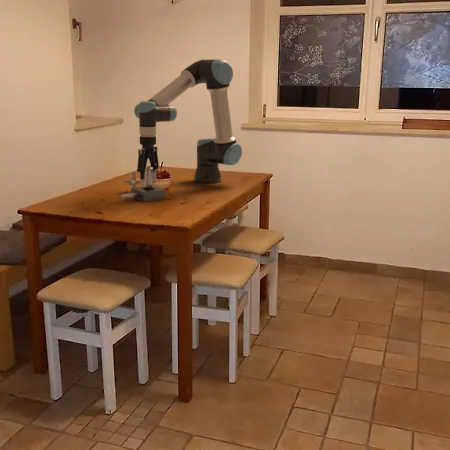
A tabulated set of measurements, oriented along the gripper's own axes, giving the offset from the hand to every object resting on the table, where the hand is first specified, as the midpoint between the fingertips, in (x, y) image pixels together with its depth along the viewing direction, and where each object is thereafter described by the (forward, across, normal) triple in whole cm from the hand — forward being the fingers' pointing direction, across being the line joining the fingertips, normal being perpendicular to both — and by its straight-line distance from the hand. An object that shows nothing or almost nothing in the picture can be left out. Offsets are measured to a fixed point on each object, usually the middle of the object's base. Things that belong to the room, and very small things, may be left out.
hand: (148, 184), depth 277 cm
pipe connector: (+7, -10, -14) cm, 18 cm away
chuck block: (+7, +3, -2) cm, 8 cm away
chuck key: (+6, 0, 0) cm, 6 cm away
